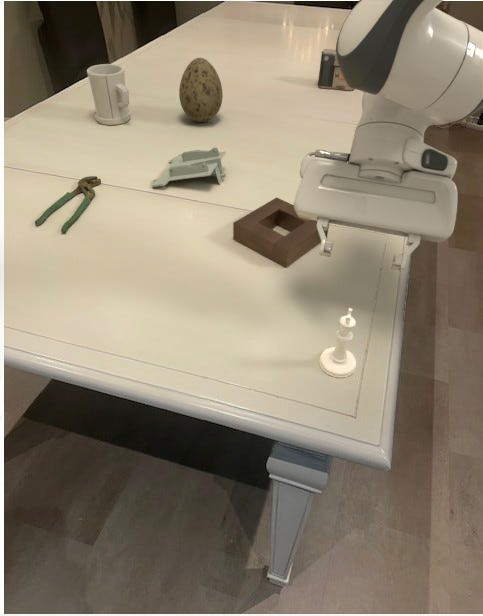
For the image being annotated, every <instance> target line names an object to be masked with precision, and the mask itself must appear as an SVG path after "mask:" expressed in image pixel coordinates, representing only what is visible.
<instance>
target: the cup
mask: <svg viewBox="0 0 483 616" xmlns="http://www.w3.org/2000/svg"><path fill="white" fill-rule="evenodd" d="M86 69H87V70H86V75H87V78H88V81H89V86H90V89H91V93H92V98H93V102H94V107H95V113H94V117H95V120H96V122H97V123H99V124H101V125H104V126H118V125H122V124H125V123H127V122H128V121H129V120H130V119H131V112H130V110H129V108H128V106H129V105H130V92H129V89H128V87H127V86H126V77H125V76H126V75H125V68H124V66H123V65H119V64H113V63H103V64H102V63H101V64H96V65H92V66H89V67H88V68H86Z"/></svg>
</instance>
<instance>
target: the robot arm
mask: <svg viewBox="0 0 483 616" xmlns="http://www.w3.org/2000/svg"><path fill="white" fill-rule="evenodd" d="M443 1H444V0H358V1H357V2H356V4H355V5H354V6H353V7H352V9H351V10H350V11H349V13H348V14H347V16H346V18H345V20H344V22H343V24H342V26H341V28H340V30H339V33H338V36H337V40H336V44H335V50H336V54H337V60H338V63H339V67H340V70H341V72H342V75H343V77H344V79H345V81H346V83H347V85H348V86H349V87H351V88H354V89H353V90H358V91H360V92H363V93H362V99H361V116H360V119H359V121H358V123H357V124H356V127H355V129H354V134H353V139H352V143H351V148H350V152H349V153H348V152H347V153H346V152H338V151H327V150H325V149H315V151H311V152H308V153H307V154H306V155H304V157H303V158H302V161H301V164H300V169H299V176H300V178H301V180H300V182H299V185H298V188H297V190H296V194H295V198H294V201H293V205H294V210H295V212H296V214H297V215H298V217H300V218H303V219H309V220H315V221H317V230H318V234H319V237H320V240H321V243H320V247H319V251H318V256H322V257H326V258H331V256H332V250H333V246H334V242H333V241H329V240H327V238H326V236H325V233H324V230H326V231H327V229H328V230H329V228H328V225H329V226H330V224H332V225H337V226H342V227H349V228H354V229H360V230H365V231H370V232H376V233H382V234H387V235H393V236H397V237H398V236H399V237H404V238H406V243H405V245H406V246H407V247H408V248H407V249H406V250H405V251H404V252H403V253H402V254H398V253H395V254H394V255H393V259H392V262H393V263H392V264H391V270H394V271H399V272H404V270H405V268H406V264H407V258H409V257H410V256H411V254H412V253H413V252H414V251H415V250H416V249H417V248H418V247H419V246H420V244H421V241H425V242H430V243H431V242H432V243H437V244H440V243H443V242H445V241H446V240H448V239H449V238H451V236H452V234H453V233H454V229H455V225H456V221H457V214H458V213H457V212H458V202H459V201H458V199H459V198H458V197H459V195H458V194H459V193H458V187H457V185H456V183H455V182H454V180H452V179H453V178H454V176H455V174H456V170H457V166H458V160H457V159H456V158H455V157H453V156H451V155H450V154H447V153H445V152H443V151H441V150H439V149H437V148H435V147H432V146H431V145H429V144H427V143H425V142H424V141H425V133H426V130H427V129H428V128H429V127H430V126H436V127H439V126H446V125H449V124H452V123H457V122H460V121H463V120H465V119H467V118H469V117H471V116H473V115H474V114H476V113H478V112H479V111H480V110H482V109H483V30H482V31H481V30H480V29H478V28H476V27H474V26H473V25H471V24H468V23H466V22H465V21H463V20H459V19H457V18H455V17H453V16H452V15H449V14H447V13H445V12H444V11H442V10H440V9H439V8H436V7H438V6H439V5H440V4H441V3H442V2H443Z"/></svg>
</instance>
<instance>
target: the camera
mask: <svg viewBox="0 0 483 616" xmlns="http://www.w3.org/2000/svg"><path fill="white" fill-rule="evenodd" d="M318 72H319V73H318V80H317V86H318V88H319V89H327V90H330V89H331V90H332V89H333V90H341V91H342V90H343V91H349V92H350V91H353V90H355V89H354V88H351V87H349V86H348V85H347V83H346V81H345V79H344V77H343V75H342V72H341V70H340V67H339V63H338V60H337V54H336V49H333V48H323V49H322V51H321V54H320V64H319V71H318Z"/></svg>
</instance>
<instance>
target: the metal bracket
mask: <svg viewBox="0 0 483 616" xmlns="http://www.w3.org/2000/svg"><path fill="white" fill-rule="evenodd" d="M226 154H227V152H226V151H219V149H218V148H217V147H216V146H214V147H212V148H211V149H210V150H201V149H195V150H188V151H183V152H182V153H179V154H178V155H176V156H175V157H173V158H171V159H170V160H169V161H168V163H169V165H168V166H167V167H166V168H165V170H164V171H163V172H162V174H161V175H160V176H159V177H158V178H155V179H152V181H151V187H152V188H156V187H157V188H158V187H165V186H166V185H167V184H168V183H169V182H171V181H172V182H173V181H180V180H187V179H188V180H189V179H194V178H195V179H196V178H203V177H209V176H211V175H212V174H213V172H215V176H216V179H217V183H218V185H221V184H222V182H223V181H224V179H225V178H227V173H225V172H224V169H223V165H222V159H223V158H224V156H225V155H226Z"/></svg>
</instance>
